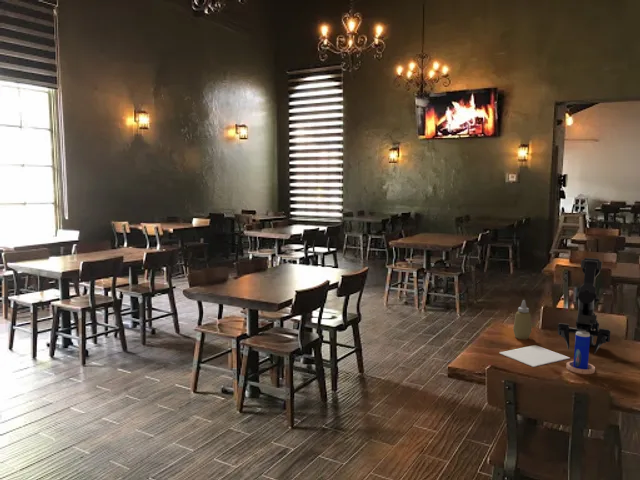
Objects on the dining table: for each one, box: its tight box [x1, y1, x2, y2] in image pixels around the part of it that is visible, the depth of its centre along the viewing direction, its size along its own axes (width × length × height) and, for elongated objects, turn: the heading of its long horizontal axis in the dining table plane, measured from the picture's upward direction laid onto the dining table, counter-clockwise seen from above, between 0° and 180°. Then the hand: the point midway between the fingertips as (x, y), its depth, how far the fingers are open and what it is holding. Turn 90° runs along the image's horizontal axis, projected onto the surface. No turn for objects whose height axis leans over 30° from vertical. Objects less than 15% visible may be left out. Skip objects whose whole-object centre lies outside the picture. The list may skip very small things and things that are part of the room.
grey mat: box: [498, 344, 571, 368], centre depth 225 cm, size 22×18×1 cm
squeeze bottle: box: [512, 299, 532, 340], centre depth 248 cm, size 8×8×18 cm
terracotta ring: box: [565, 360, 596, 375], centre depth 210 cm, size 10×10×2 cm
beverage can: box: [572, 331, 590, 369], centre depth 209 cm, size 5×5×15 cm
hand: (581, 351), depth 208 cm, fingers open, 9 cm apart
